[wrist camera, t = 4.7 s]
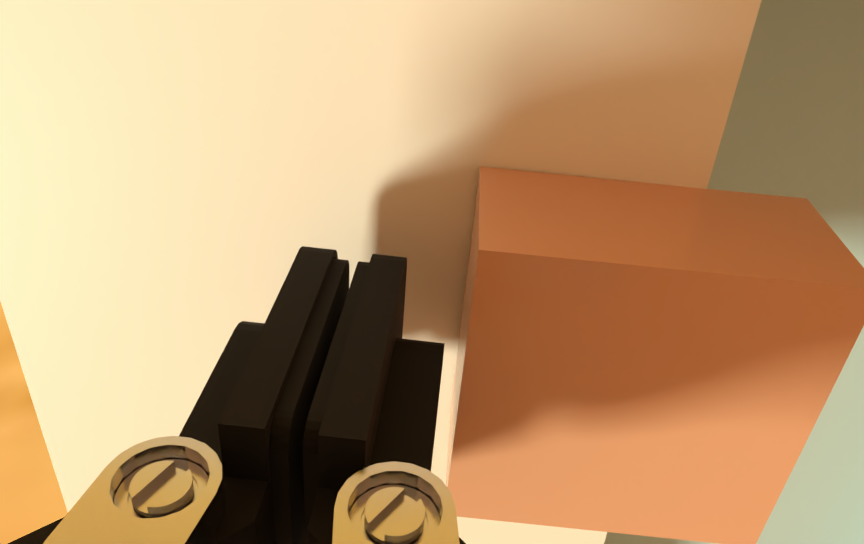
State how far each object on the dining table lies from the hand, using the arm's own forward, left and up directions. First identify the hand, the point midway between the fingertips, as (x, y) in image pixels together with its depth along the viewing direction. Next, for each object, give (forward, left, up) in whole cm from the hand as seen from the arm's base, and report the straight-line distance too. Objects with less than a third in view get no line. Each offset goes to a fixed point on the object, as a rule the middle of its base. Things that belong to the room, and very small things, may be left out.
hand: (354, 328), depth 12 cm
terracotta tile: (0, +4, -1) cm, 4 cm away
